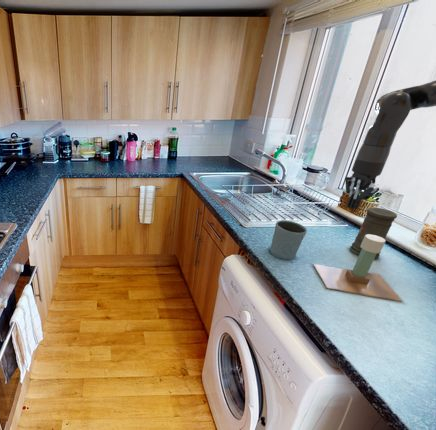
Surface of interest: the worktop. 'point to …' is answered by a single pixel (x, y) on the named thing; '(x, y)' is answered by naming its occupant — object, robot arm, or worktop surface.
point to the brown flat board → (340, 282)
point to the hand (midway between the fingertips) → (351, 208)
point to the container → (373, 227)
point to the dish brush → (365, 258)
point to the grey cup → (287, 239)
